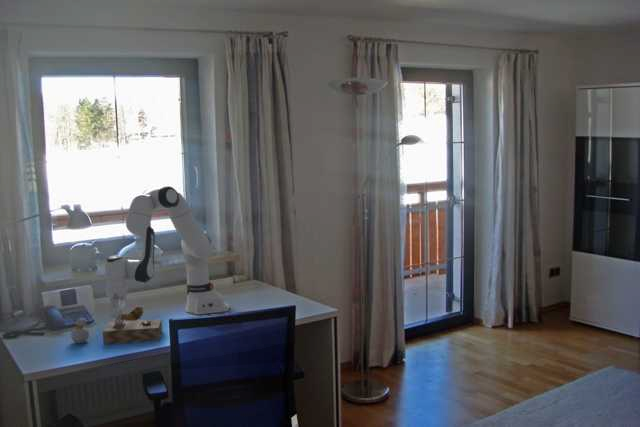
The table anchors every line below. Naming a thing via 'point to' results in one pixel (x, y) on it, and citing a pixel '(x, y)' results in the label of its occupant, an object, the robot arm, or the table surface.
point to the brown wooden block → (132, 332)
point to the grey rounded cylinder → (119, 324)
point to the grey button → (146, 323)
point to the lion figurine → (133, 314)
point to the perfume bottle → (80, 331)
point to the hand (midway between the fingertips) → (118, 321)
